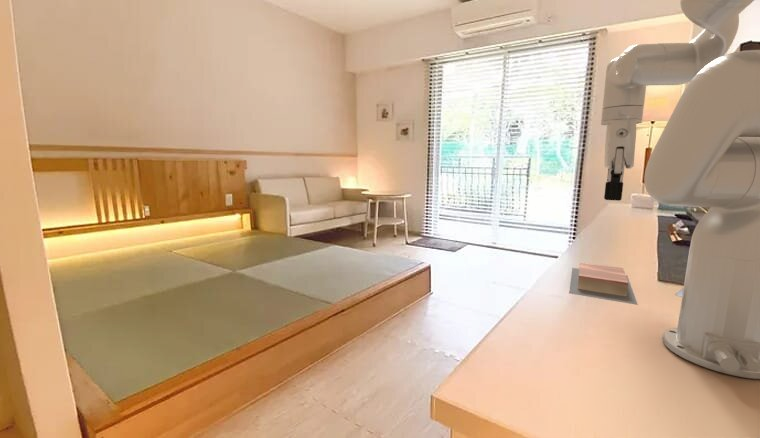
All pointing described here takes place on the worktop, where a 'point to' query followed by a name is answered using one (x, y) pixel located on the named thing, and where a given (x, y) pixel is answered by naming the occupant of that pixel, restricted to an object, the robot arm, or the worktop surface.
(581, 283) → the wooden block
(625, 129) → the robot arm
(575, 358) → the worktop surface
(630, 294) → the mat
